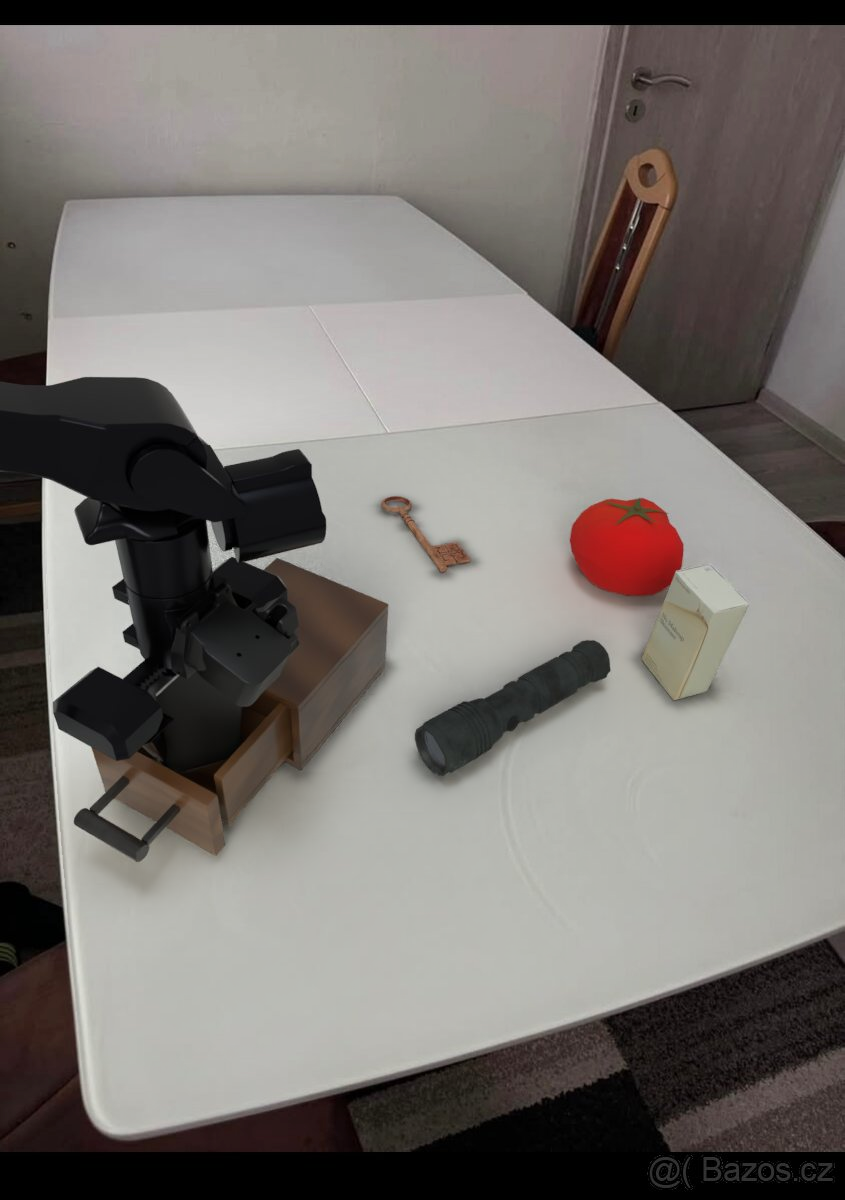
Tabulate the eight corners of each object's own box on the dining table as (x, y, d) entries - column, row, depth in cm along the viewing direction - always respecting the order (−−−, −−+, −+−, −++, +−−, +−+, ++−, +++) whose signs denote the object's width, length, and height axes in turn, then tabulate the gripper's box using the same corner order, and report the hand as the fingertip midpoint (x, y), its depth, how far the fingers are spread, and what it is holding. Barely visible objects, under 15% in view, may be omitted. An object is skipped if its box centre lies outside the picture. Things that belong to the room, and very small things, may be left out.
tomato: (656, 626, 88) (682, 552, 82) (548, 584, 93) (565, 510, 86) (684, 572, 96) (710, 500, 89) (583, 535, 100) (601, 463, 93)
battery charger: (233, 723, 70) (229, 625, 62) (246, 756, 67) (243, 658, 60) (150, 744, 67) (135, 645, 60) (160, 780, 65) (146, 680, 57)
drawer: (173, 908, 60) (160, 859, 55) (59, 838, 63) (38, 787, 59) (313, 739, 72) (312, 688, 68) (211, 689, 76) (203, 637, 72)
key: (472, 567, 94) (418, 496, 104) (473, 561, 94) (419, 490, 103) (427, 574, 92) (376, 502, 102) (428, 568, 91) (377, 495, 101)
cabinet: (301, 770, 71) (298, 705, 65) (187, 712, 75) (175, 647, 69) (385, 667, 81) (388, 603, 75) (280, 621, 85) (276, 557, 79)
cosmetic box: (639, 659, 84) (671, 569, 76) (675, 650, 86) (709, 560, 78) (674, 703, 80) (712, 612, 72) (711, 692, 81) (752, 602, 73)
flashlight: (411, 750, 73) (414, 714, 70) (572, 660, 84) (582, 625, 80) (445, 789, 71) (450, 753, 67) (607, 690, 81) (619, 655, 77)
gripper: (166, 711, 45) (197, 861, 55) (346, 541, 58) (343, 689, 68) (21, 636, 49) (75, 791, 59) (220, 491, 61) (236, 639, 72)
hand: (194, 723), depth 64 cm, fingers closed on battery charger, 7 cm apart
